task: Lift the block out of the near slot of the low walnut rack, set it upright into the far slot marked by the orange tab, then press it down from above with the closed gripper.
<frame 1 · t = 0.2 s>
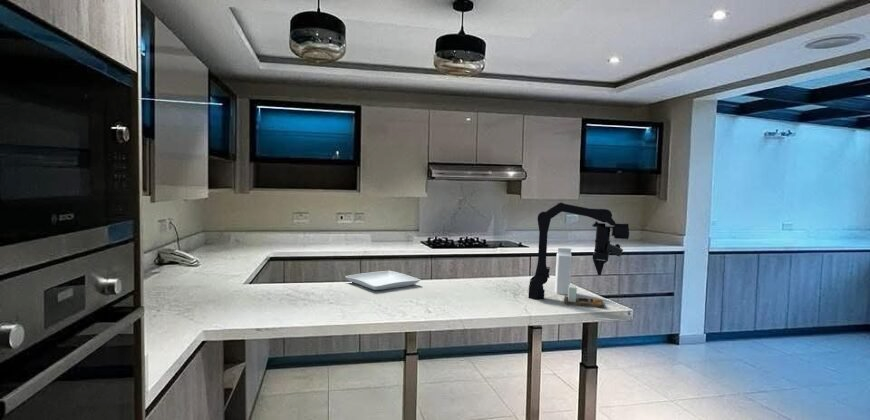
hand: (599, 273, 208), 14 cm above the table, tool pointing down, fingers open, 9 cm apart
square plate: (382, 285, 235), on the table
rack: (583, 305, 208), on the table
milk: (561, 294, 227), on the table
block: (571, 302, 209), point 1 cm above the table, touching rack
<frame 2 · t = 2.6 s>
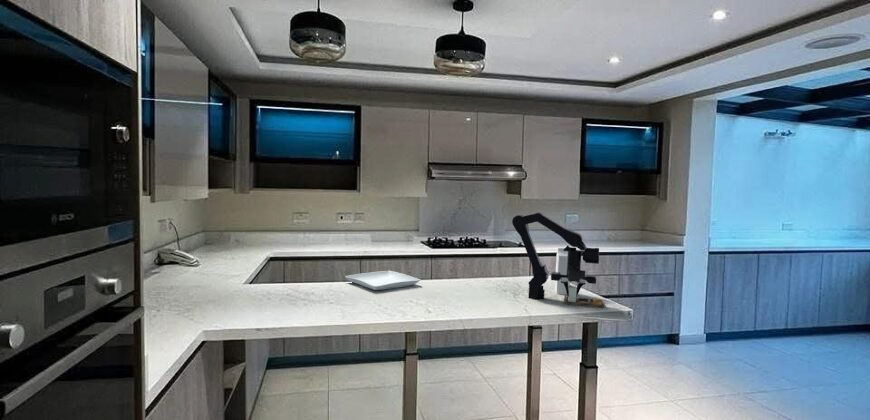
hand: (572, 297, 209), 3 cm above the table, tool pointing down, fingers closed on block, 3 cm apart
block: (571, 302, 209), point 1 cm above the table, touching gripper, rack
everything else where it was.
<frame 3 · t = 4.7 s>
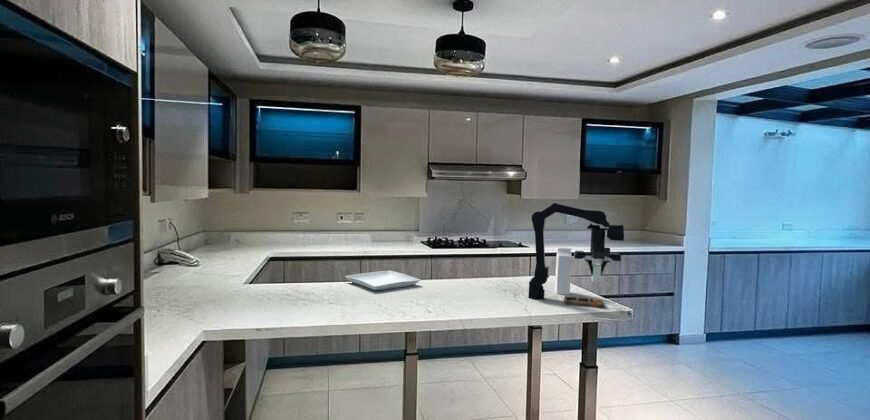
hand: (596, 275, 206), 13 cm above the table, tool pointing down, fingers closed on block, 3 cm apart
block: (595, 280, 206), point 11 cm above the table, touching gripper
everything else where it was.
when the fingers open (4 cm above the table, at t = 7.2 s): block stays where it is, resting on rack.
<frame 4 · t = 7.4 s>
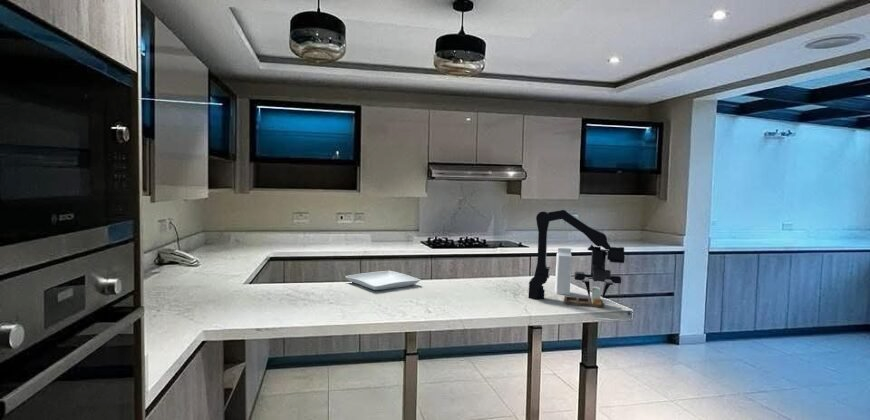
hand: (596, 297, 207), 4 cm above the table, tool pointing down, fingers open, 5 cm apart
block: (595, 304, 207), point 1 cm above the table, touching rack
everything else where it was.
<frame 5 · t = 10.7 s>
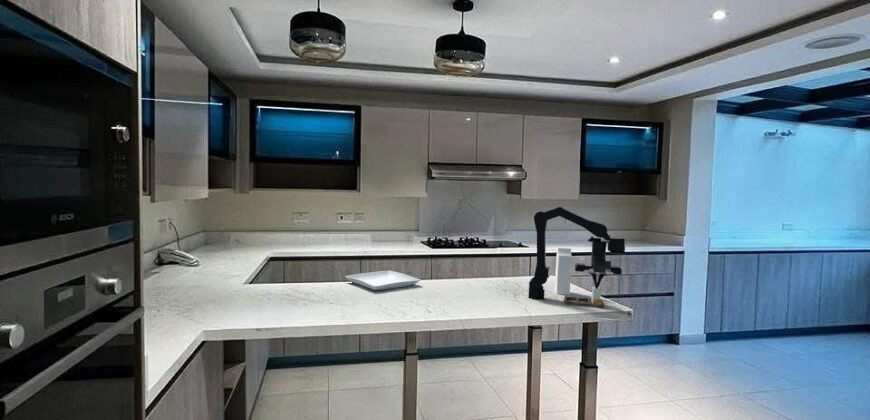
hand: (596, 288, 207), 8 cm above the table, tool pointing down, fingers closed, pressing on block
block: (595, 304, 207), point 1 cm above the table, touching gripper, rack
everything else where it was.
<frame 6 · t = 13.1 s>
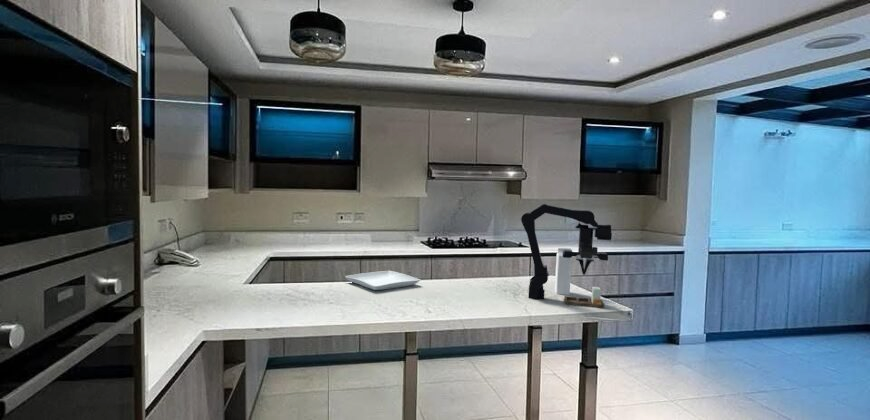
hand: (583, 274, 209), 13 cm above the table, tool pointing down, fingers closed
block: (595, 304, 207), point 1 cm above the table, touching rack
everything else where it was.
at the end: block 0.1 cm from the target spot on the rack, point 0.8 cm above the rack's base; block tilted 0°; the gripper is holding nothing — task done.
